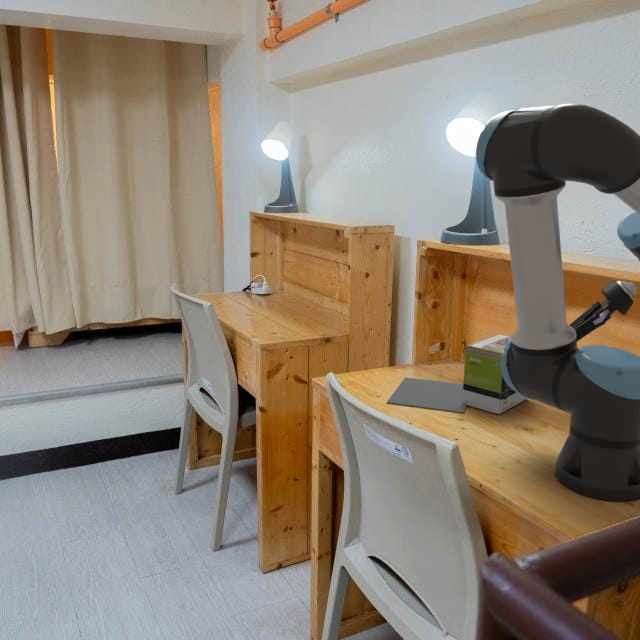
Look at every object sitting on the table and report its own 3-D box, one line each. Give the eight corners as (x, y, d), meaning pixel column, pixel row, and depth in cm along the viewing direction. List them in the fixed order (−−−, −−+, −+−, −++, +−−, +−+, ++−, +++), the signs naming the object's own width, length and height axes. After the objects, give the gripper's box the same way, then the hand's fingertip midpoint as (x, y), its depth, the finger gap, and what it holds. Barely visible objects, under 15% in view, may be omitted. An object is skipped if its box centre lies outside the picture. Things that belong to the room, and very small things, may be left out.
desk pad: (463, 413, 143) (463, 412, 143) (386, 403, 149) (386, 402, 149) (474, 386, 161) (474, 385, 161) (405, 378, 167) (405, 377, 167)
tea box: (491, 389, 158) (496, 332, 155) (529, 399, 152) (535, 340, 148) (460, 403, 148) (465, 343, 144) (499, 415, 141) (505, 352, 138)
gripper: (643, 310, 129) (550, 379, 138) (636, 299, 141) (550, 363, 150) (617, 283, 129) (526, 353, 139) (612, 274, 141) (529, 339, 151)
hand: (539, 358), depth 144 cm, fingers closed
